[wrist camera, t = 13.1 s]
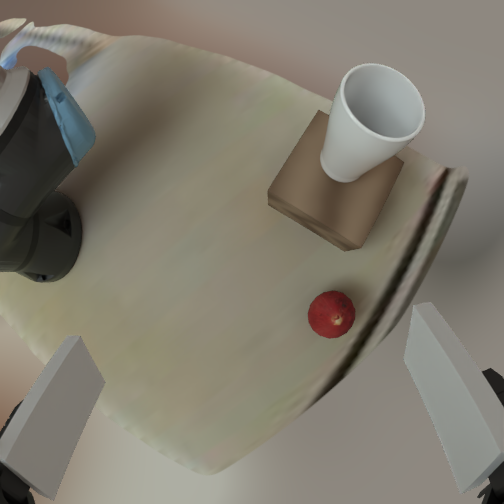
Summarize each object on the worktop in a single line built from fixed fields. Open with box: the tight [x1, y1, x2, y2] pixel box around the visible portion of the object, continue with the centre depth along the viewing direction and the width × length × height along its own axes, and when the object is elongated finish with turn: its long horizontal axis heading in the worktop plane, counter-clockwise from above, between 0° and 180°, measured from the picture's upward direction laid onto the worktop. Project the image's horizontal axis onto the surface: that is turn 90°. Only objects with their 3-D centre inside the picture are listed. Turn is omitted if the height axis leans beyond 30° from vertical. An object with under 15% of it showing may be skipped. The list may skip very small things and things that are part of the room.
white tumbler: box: [320, 63, 426, 183], centre depth 26 cm, size 7×7×15 cm
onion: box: [308, 291, 355, 338], centre depth 36 cm, size 6×6×8 cm
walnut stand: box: [268, 110, 404, 252], centre depth 37 cm, size 12×12×8 cm
